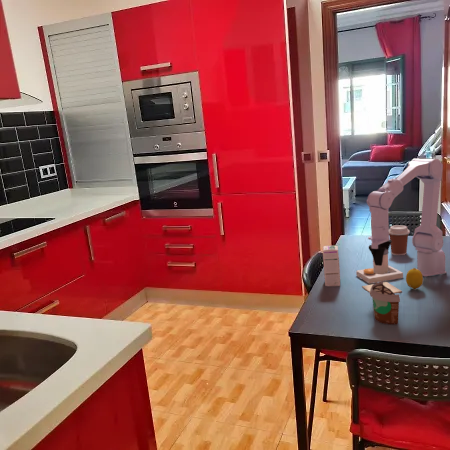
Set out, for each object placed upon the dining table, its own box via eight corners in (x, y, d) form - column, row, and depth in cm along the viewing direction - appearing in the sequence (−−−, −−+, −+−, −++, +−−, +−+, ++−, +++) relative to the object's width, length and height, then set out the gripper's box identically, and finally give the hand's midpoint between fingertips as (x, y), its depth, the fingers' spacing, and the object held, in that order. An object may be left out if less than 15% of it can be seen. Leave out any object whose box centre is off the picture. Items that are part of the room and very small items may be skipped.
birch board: (386, 282, 167) (386, 281, 167) (401, 292, 157) (401, 291, 157) (361, 287, 165) (361, 286, 165) (375, 296, 156) (375, 295, 155)
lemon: (422, 286, 160) (422, 265, 158) (423, 292, 155) (423, 270, 153) (405, 286, 162) (405, 265, 160) (406, 292, 157) (406, 270, 155)
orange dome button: (372, 275, 175) (371, 267, 175) (377, 278, 171) (377, 271, 171) (361, 276, 175) (361, 269, 174) (367, 280, 170) (367, 273, 170)
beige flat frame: (388, 269, 180) (388, 265, 179) (403, 277, 170) (403, 272, 170) (356, 275, 177) (356, 270, 177) (369, 283, 168) (368, 278, 167)
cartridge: (375, 268, 163) (374, 247, 161) (390, 269, 160) (390, 248, 158) (371, 273, 159) (370, 252, 157) (386, 275, 156) (386, 253, 154)
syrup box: (340, 286, 168) (339, 249, 165) (324, 286, 169) (322, 249, 166) (340, 280, 174) (338, 244, 170) (324, 281, 175) (322, 245, 172)
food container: (364, 312, 145) (363, 283, 143) (382, 309, 145) (382, 280, 143) (380, 329, 133) (379, 297, 131) (400, 326, 133) (399, 295, 131)
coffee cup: (411, 250, 200) (411, 224, 197) (407, 257, 192) (407, 230, 190) (390, 249, 205) (390, 224, 202) (385, 255, 197) (385, 229, 195)
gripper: (374, 220, 164) (375, 255, 167) (362, 230, 152) (363, 267, 155) (394, 220, 160) (394, 257, 163) (383, 231, 148) (384, 270, 151)
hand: (380, 262), depth 159 cm, fingers closed on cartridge, 5 cm apart
